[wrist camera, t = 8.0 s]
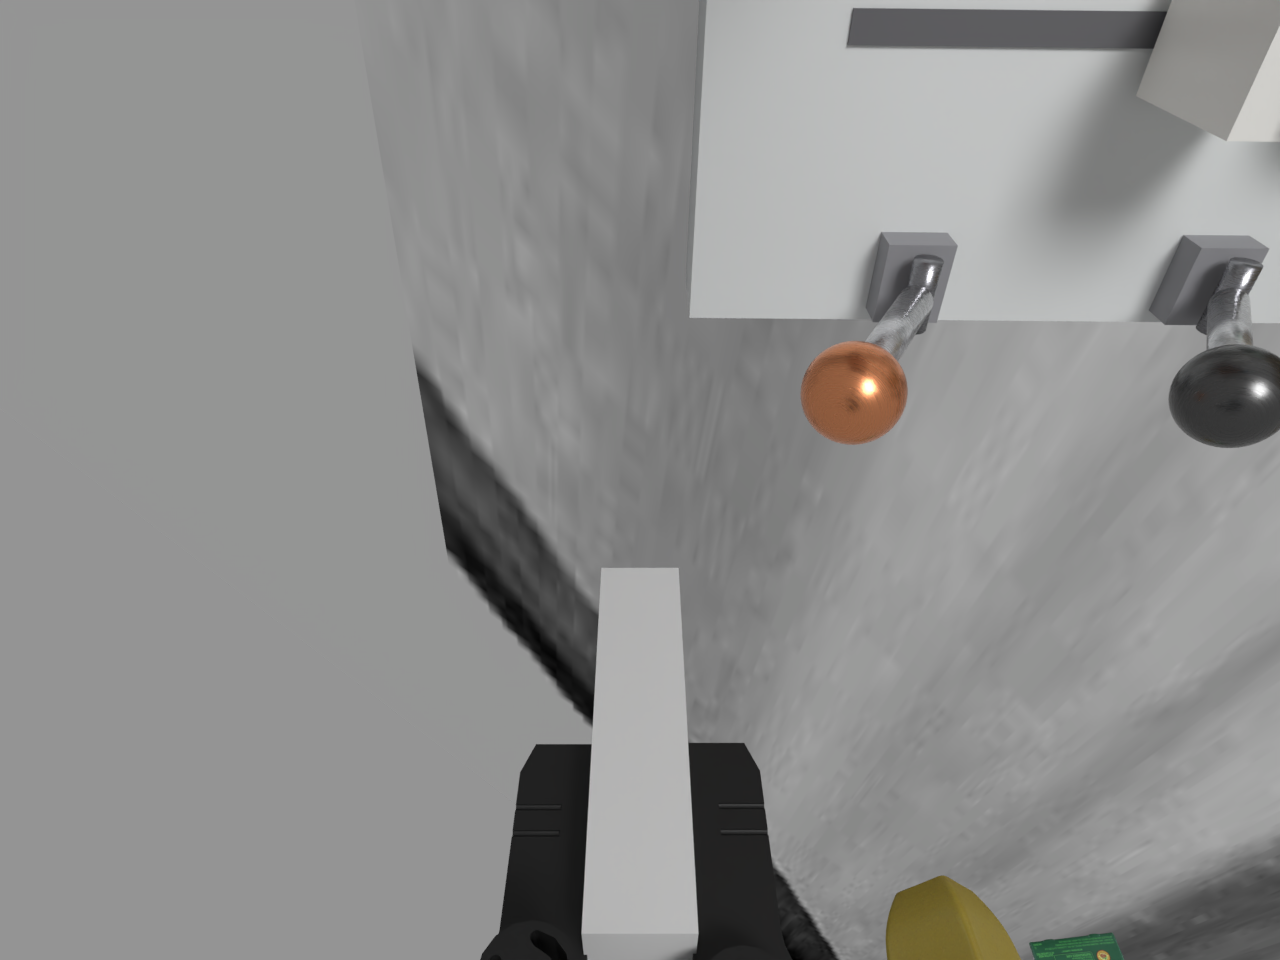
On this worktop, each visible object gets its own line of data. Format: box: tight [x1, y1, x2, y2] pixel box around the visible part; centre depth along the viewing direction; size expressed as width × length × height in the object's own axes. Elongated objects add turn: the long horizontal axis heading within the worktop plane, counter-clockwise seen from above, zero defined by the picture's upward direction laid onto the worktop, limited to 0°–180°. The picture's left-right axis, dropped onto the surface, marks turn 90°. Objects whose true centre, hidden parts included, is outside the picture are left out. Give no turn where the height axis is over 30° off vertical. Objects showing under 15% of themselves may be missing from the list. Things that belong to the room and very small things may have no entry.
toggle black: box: [1168, 257, 1280, 448], centre depth 25 cm, size 3×3×10 cm
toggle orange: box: [800, 254, 944, 445], centre depth 25 cm, size 3×3×10 cm
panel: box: [686, 0, 1280, 325], centre depth 28 cm, size 12×25×5 cm, turn 89°
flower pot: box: [886, 875, 1021, 960], centre depth 66 cm, size 9×9×9 cm
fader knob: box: [1136, 0, 1280, 142], centre depth 22 cm, size 4×4×6 cm
